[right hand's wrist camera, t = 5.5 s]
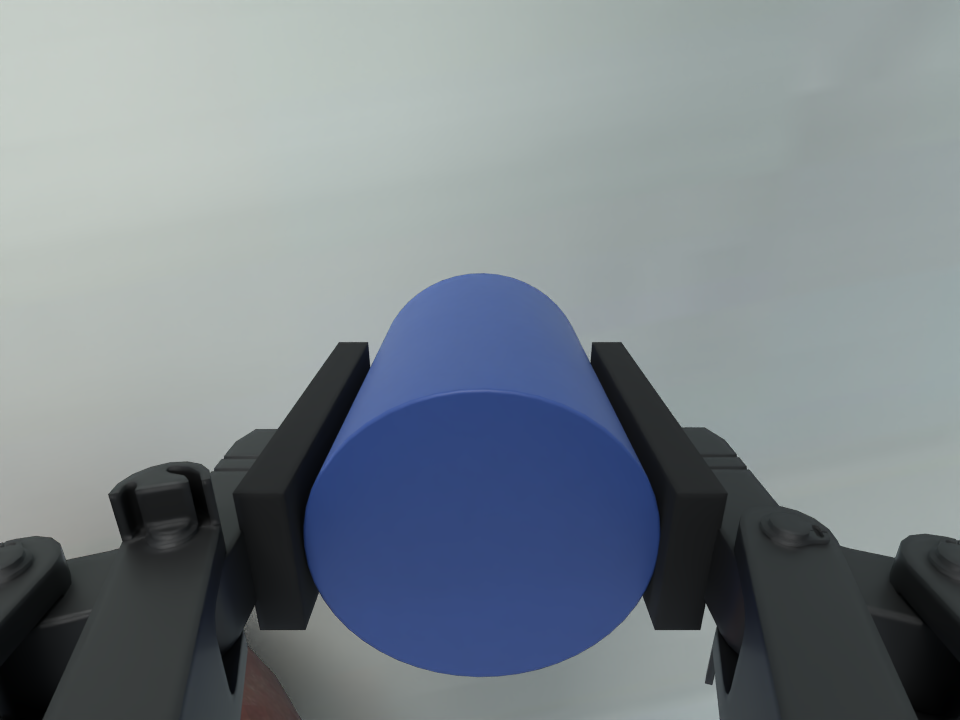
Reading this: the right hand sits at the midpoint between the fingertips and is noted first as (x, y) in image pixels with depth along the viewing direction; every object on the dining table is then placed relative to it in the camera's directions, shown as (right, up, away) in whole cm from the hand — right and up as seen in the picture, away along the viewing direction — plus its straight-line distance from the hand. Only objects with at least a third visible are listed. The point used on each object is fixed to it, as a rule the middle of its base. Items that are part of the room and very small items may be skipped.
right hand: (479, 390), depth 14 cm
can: (0, 0, +1) cm, 1 cm away
